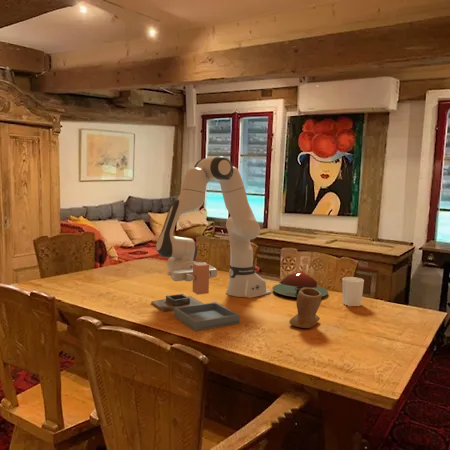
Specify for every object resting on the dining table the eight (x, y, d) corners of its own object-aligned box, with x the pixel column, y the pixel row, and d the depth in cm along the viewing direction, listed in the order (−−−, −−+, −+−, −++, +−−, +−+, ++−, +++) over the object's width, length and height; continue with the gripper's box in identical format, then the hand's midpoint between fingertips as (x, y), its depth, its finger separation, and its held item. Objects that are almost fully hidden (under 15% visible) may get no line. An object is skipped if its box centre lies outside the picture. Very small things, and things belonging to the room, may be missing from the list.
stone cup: (313, 333, 180) (315, 295, 178) (285, 326, 186) (287, 290, 184) (327, 322, 193) (329, 286, 191) (300, 316, 199) (301, 282, 197)
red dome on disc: (265, 296, 229) (266, 274, 228) (280, 283, 255) (281, 263, 254) (322, 304, 219) (323, 280, 218) (332, 290, 245) (333, 269, 243)
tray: (215, 309, 206) (215, 301, 206) (239, 323, 189) (239, 314, 188) (174, 315, 196) (174, 307, 196) (195, 330, 179) (195, 322, 178)
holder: (190, 298, 223) (191, 290, 223) (204, 305, 211) (204, 298, 211) (151, 303, 213) (151, 295, 213) (163, 311, 201) (163, 303, 201)
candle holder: (364, 303, 222) (365, 278, 221) (360, 308, 213) (362, 282, 212) (343, 300, 226) (344, 275, 225) (339, 305, 217) (340, 280, 216)
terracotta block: (203, 290, 198) (203, 262, 196) (208, 293, 193) (209, 264, 192) (192, 291, 195) (193, 263, 194) (197, 294, 191) (198, 265, 190)
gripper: (165, 265, 199) (178, 272, 187) (208, 261, 209) (223, 268, 197) (165, 280, 200) (178, 287, 188) (208, 275, 210) (222, 282, 198)
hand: (201, 277), depth 193 cm, fingers closed on terracotta block, 5 cm apart
